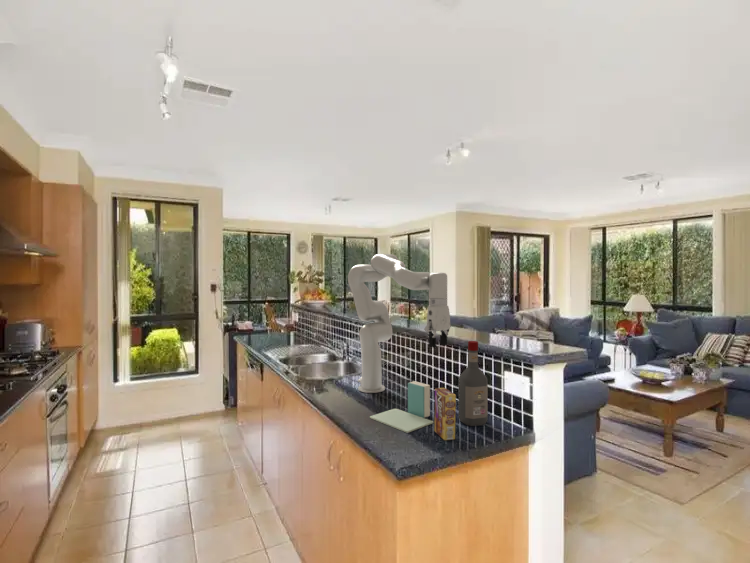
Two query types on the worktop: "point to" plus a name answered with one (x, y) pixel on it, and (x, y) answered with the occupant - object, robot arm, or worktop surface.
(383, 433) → the worktop surface
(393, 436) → the worktop surface
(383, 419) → the mat
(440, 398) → the candy box
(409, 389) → the tile
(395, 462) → the worktop surface
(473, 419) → the liquor
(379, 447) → the worktop surface
